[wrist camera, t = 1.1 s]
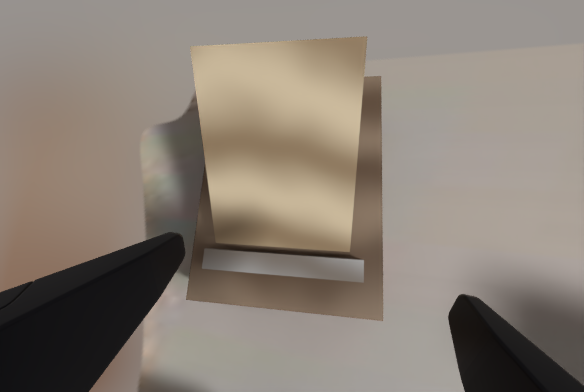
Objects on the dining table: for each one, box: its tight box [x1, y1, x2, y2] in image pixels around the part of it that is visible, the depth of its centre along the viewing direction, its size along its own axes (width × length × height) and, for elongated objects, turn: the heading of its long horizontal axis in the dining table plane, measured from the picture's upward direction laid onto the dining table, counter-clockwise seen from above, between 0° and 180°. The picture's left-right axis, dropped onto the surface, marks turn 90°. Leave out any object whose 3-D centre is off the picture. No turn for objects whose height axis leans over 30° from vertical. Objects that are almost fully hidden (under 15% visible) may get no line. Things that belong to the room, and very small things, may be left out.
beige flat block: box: [186, 76, 383, 321], centre depth 21 cm, size 20×15×6 cm
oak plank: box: [190, 37, 367, 252], centre depth 16 cm, size 13×10×1 cm
